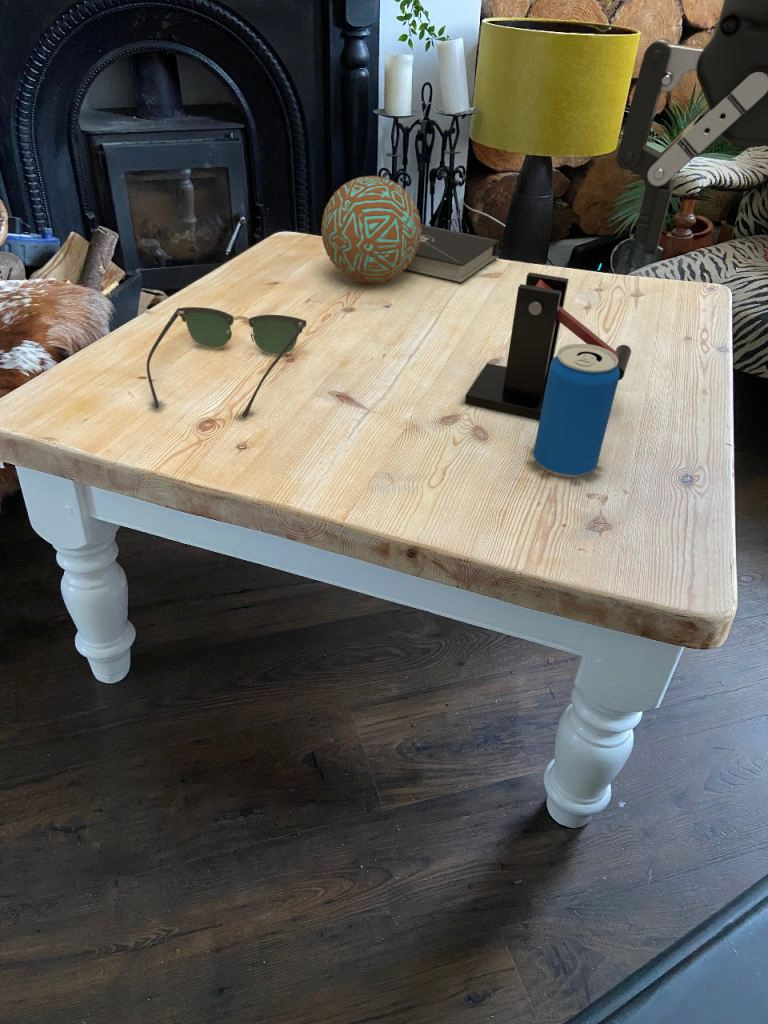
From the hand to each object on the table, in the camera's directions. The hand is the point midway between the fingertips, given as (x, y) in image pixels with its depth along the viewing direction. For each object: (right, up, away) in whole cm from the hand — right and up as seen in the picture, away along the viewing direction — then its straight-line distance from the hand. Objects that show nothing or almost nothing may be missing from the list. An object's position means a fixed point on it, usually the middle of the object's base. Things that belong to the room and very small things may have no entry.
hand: (726, 263), depth 42 cm
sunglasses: (-39, +2, +46) cm, 60 cm away
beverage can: (-1, -9, +34) cm, 35 cm away
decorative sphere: (-22, +22, +74) cm, 80 cm away
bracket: (-3, -1, +45) cm, 45 cm away
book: (-13, +29, +83) cm, 89 cm away
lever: (+1, +5, +39) cm, 39 cm away
